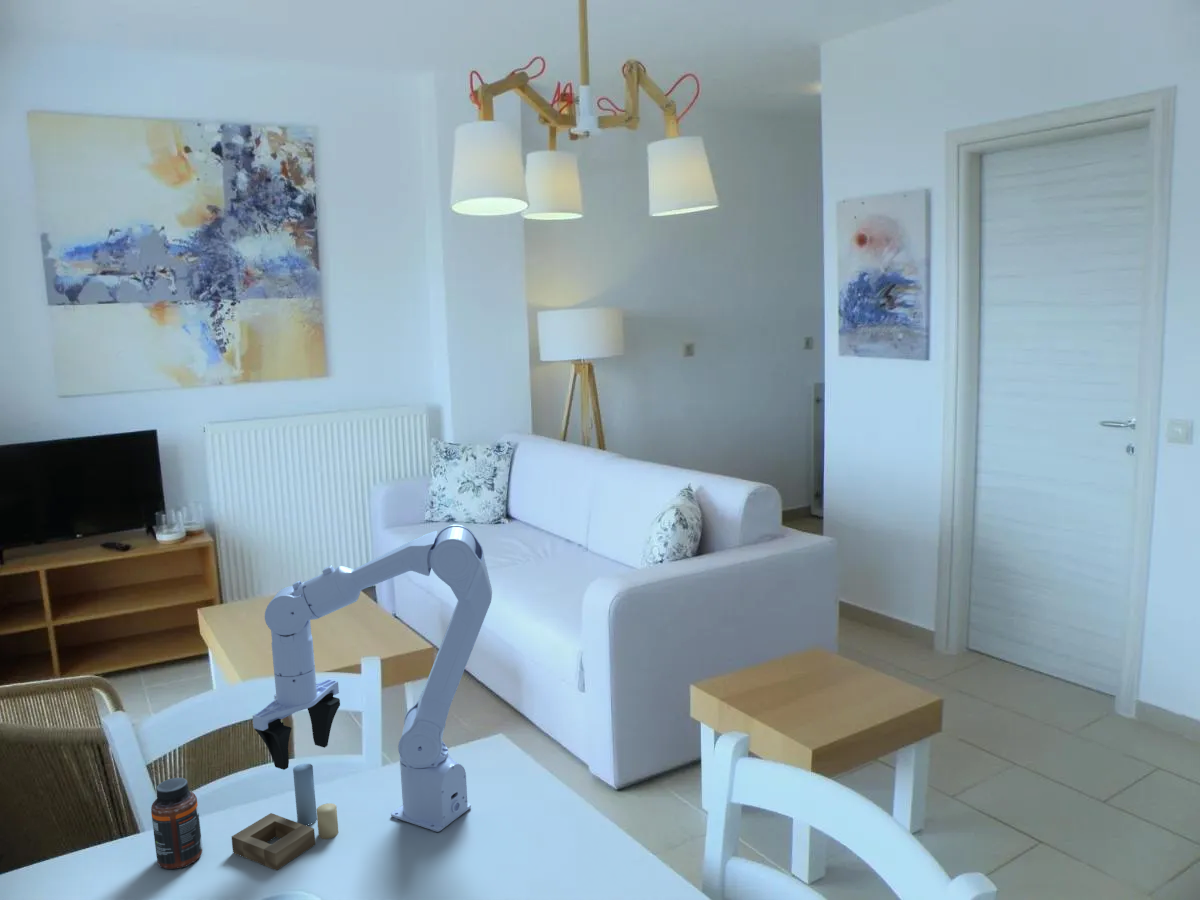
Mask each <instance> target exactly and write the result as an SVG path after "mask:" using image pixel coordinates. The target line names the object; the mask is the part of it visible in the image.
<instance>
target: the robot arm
mask: <svg viewBox="0 0 1200 900" xmlns="http://www.w3.org/2000/svg"><path fill="white" fill-rule="evenodd" d="M431 571H433V573H434V574H435V575H436V576H437V577H438V578H439V579H440V580H441V581H442V582H444V584H446V585H447V586H449V588H450V589H451V591H452V592H453V594H454V596H455V598H456V599H457V602H456V605H455V607H454V610H453V613H452V616H451V618H450V621H449V622H448V626H447V629H446V631H445V633H444V636H443V638H442V642H441V643H440V647H439V648H438V651H437V654H436V656H435V659H434V662H433V665H432V667H431V670H430V672H429V675H428V677H427V680H426V682H425V685H424V688H423V690H422V691H421V693H420V695H419V698H418V700H417V701H416V703H415V704H414V705H413V706H412V707H411V708H409V709H408V711H407V712H406V714H405V717H404V724H403V728H402V734H401V737H400V739H399V741H398V746H397V748H398V749H397V750H398V754H399V769H400V770H399V771H400V784H401V795H402V796H401V798H402V799H401V800H402V805H400V806H399V807H397V808H396V809H394V810H393V811H391V813H390V816H391V818H395V819H397V820H400V821H403V822H407V823H410V824H413V825H415V826H419V827H422V828H425V829H427V830H430V831H434V832H436V833H437V832H441V831H443V830H444V828H446V827H447V826H448V825H450V824H451V823H453V822H454V821H455V820H457V819H458V818H460V816H462V815H463V814H464V813H466V812H467V811H468V810H470V809H471V808H472V804H471V803H470V802H468V791H467V790H468V789H467V787H468V786H467V772H466V770H465V767H464V766H463V765H462V764H461V763H459V762H457V761H455V760H454V759H453V758H452V757H451V756H450V754H449V748H448V747H447V745H446V743H445V741H444V740H443V738H444V731H445V728H446V722H447V719H448V715H449V712H450V708H451V706H452V703H453V700H454V698H455V695H456V692H457V689H458V687H459V685H460V683H461V680H462V677H463V674H464V671H466V670H465V668H466V666H467V664H468V662H469V659H470V657H471V654H472V651H473V648H474V646H475V644H476V641H477V639H478V636H479V634H480V631H481V629H482V627H483V624H484V620H485V618H486V616H487V613H488V611H489V609H490V605H491V603H492V598H493V590H492V584H491V580H490V576H489V573H488V568H487V563H486V560H485V555H484V549H483V546H482V545H481V543H480V542H479V540H478V538H477V537H476V536H475V534H474V533H473V532H472V531H471V530H470V529H469V528H468V527H466V526H464V525H461V524H451V525H447V526H446V527H444V528H442V529H441V530H440V531H439V532H438V530H434V531H431V532H427V533H426V534H424V535H421V536H419V537H417V538H415V539H412V540H410V541H407V543H404V544H402V545H400V546H398V547H396V548H394V549H392V550H390V551H388V552H386V553H384V554H382V555H380V556H378V557H376V558H374V559H371V560H369V561H367V562H366V563H364V564H362V565H360V566H357V567H355V568H352V567H351V568H350V567H347V566H344V565H339V566H337V567H334V566H333V565H332V564H331V565H328V566H326V567H324V569H322V573H321V574H319V575H317V576H316V575H315V576H314V577H312V578H310V579H308V580H305V581H303V582H302V581H301V580H298V581H295V582H293V584H292V585H289V586H286V587H284V588H281V589H280V590H279V591H278V592H277V593H276V594H275V596H273V598H272V599H271V601H270V602H269V603H268V605H267V606H266V609H265V611H264V621H265V624H266V625H267V628H268V629H270V633H271V651H272V663H273V664H272V665H273V674H274V675H273V676H274V687H275V694H274V695H273V699H274V700H273V701H271V702H270V703H268V704H267V705H266V706H265V707H264V708H263V709H261V710H260V711H258V712H257V713H254V714H253V715H252V725H253V729H254V730H255V732H256V733H257V734H258V735H259V737H260V738H261V739H262V741H263V742H264V743H265V745H266V748H267V750H268V752H269V754H270V756H271V758H272V759H271V760H272V762H273V765H274V767H275V768H277V769H279V770H280V769H281V770H283V771H284V770H286V769H288V768H289V763H290V756H289V741H290V736H291V731H292V729H293V728H292V727H291V726H288V725H284V722H282V720H283V719H285V718H286V717H289V716H291V715H293V714H296V713H298V712H300V711H303V710H307V711H308V714H309V719H310V722H311V731H312V739H313V743H314V745H315V746H318V747H320V748H323V749H324V748H326V747H328V745H329V739H330V732H331V730H332V725H333V722H334V718H335V716H336V714H337V712H338V710H339V708H340V706H341V700H340V698H339V697H336V695H338V694H339V693H340V689H339V681H338V680H333V679H329V678H328V679H326V680H324V681H322V682H317V678H316V665H315V654H314V653H315V652H314V651H315V650H314V639H313V635H312V627H311V626H312V625H311V620H318V619H320V618H323V617H325V616H328V615H330V614H332V613H334V612H336V611H338V610H340V609H343V608H345V607H347V606H350V605H352V604H354V603H355V602H358V600H359V597H360V594H361V592H362V591H363V590H364V589H365V590H366V589H367V588H369V587H373V586H374V585H377V584H379V583H380V584H381V583H383V582H384V581H387V580H390V579H393V578H395V577H398V576H400V575H402V574H405V573H408V572H414V573H418V574H421V575H423V576H427V577H429V576H430V574H431Z"/></svg>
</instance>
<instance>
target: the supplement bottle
mask: <svg viewBox="0 0 1200 900" xmlns="http://www.w3.org/2000/svg"><path fill="white" fill-rule="evenodd" d="M155 790H156V799H155V800H154V801H153V803H152V804H151V807H150V809H151V812H150V813H151V820H152V822H151V823H152V830H153V836H154V837H153V839H154V845H155V846H154V847H155V853H156V854H155V855H156V859H157V860H156V861H157V862H156V863H157V864H158V866H159V867H161V868H162V869H165V870H166V869H167V870H169V869H170V870H174V869H180V868H181V869H182V868H184V867H187V866H190V865H191V864H193V863H194V862H196V861H197V860H198V859H199V858H200V857H201V856H202V855H203V840H202V831H201V829H202V828H201V824H200V823H201V822H200V821H201V820H200V813H199V807H198V798H197V795H196V794H195V793H194V792H192V791H191V790H189V783H188V780H187V779H186V778H184V777H172V778H170V779H166V780H164V781H162V782H160V783H159V784H158V785H157V786H156V789H155Z"/></svg>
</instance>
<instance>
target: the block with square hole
mask: <svg viewBox="0 0 1200 900" xmlns="http://www.w3.org/2000/svg"><path fill="white" fill-rule="evenodd" d="M315 835H316V834H315V828H313V827H311V826H309V825H308V826H306V825H303V824H300V823H298V821H294V820H291V819H288V818H286V817H283V816H280V815H278V814H274V813H273V812H270V813H269V814H266V816H264V817H262V818H260V819H259V820H257V821H255V822H254V823H252V824H250V825H248V826H247V827H245V828H243V829H241V830H240V831H238V832H237V833H235V834H233V835H232V836H231V846H232V853H233V852H234V853H233V854H235V853H236V854H235V855H237V854H238V856H240V855H241V857H242V856H243V858H244V859H245V858H246V859H247V860H250V861H252V862H255V863H257V864H260V865H262V866H264V867H268V868H269V869H272V870H274V869H275V871H278V870H280V869H281V868H283V867H284V866H286V865H287V864H288V863H290V862H292V861H293V860H294V858H295V859H296V858H297V857H299V856H301V855H302V854H304V853H306V852H307V851H308V850H310V849H311V848H313V847H314V846H315V845H316V836H315ZM274 837H275V838H277V837H278V838H277V840H275V842H273V843H269V842H270V841H272V840H273V838H274ZM275 838H274V839H275ZM280 838H281V839H280ZM271 839H272V840H271ZM268 841H269V842H268ZM306 850H307V851H306ZM303 852H304V853H303ZM291 860H292V861H291Z"/></svg>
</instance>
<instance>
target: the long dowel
mask: <svg viewBox="0 0 1200 900" xmlns="http://www.w3.org/2000/svg"><path fill="white" fill-rule="evenodd" d="M313 767H314V766H313V764H311V763H301V764H298V765H296V766H294V767H293V769H292V771H293V772H292V773H293V783H294V784H293V785H294V795H295V807H296V818H297V821H296V822H297V823H300V824H303V825H308V824H311V823H313V824H315V823H316V822H317V821H316V820H317V804H316V790H315V789H316V788H315V779H314V768H313ZM315 821H316V822H315ZM314 822H315V823H314ZM311 825H312V824H311ZM308 826H309V825H308Z"/></svg>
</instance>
